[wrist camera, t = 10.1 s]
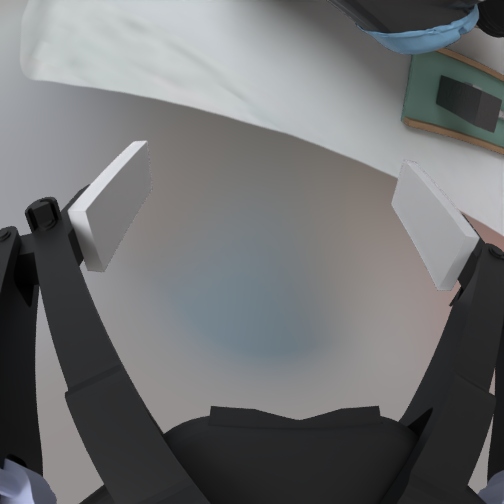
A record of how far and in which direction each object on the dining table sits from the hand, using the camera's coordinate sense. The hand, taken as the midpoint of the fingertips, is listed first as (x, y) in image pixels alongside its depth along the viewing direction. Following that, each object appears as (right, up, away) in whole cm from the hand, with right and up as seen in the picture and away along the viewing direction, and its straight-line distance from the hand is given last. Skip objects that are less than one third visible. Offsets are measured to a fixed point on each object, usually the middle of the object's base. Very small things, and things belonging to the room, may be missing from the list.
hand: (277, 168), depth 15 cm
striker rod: (+38, +20, +21) cm, 48 cm away
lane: (+36, +21, +22) cm, 47 cm away
